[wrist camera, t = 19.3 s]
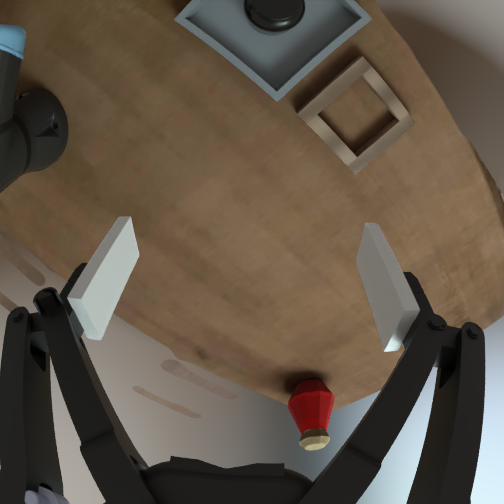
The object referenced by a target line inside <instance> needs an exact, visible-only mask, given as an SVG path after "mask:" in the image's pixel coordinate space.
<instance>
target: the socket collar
mask: <svg viewBox="0 0 504 504" xmlns="http://www.w3.org/2000/svg"><path fill="white" fill-rule="evenodd" d="M359 77H362V79H363V80H364V81H365V82H366V83H367V84H368V85H369V87H370V88H371V89H372V90H373V91H374V93H375V94H376V95H377V96H378V97H379V99H380V100H381V101H382V102H383V104H384V105H385V106H386V107H387V109H388V110H389V111H390V112H391V114H392V115H393V116H394V119H393V120H392V121H391V122H390V123H388V124H387V125H386V126H385V127H384V128H382V129H381V130H380V131H379V132H378V133H377V134H375V135H374V136H373V137H372V138H371V139H370V140H368V141H367V142H366V143H365V144H364V145H363V146H361V147H360V148H359V149H358V150H357V151H356V152H354V153H353V152H352V151H351V150H350V149H349V147H348V146H347V145H346V144H345V143H344V142H343V141H342V140H341V139H340V138H339V137H338V135H337V134H336V133H335V132H334V131H333V130H332V129H331V128H330V127H329V126H328V125H327V124H326V123H325V122H324V121H323V120H322V119H321V118H320V117H319V116H318V115H317V114H318V113H320V112H321V111H322V110H323V109H324V108H325V107H326V106H327V105H328V104H330V103H331V102H332V101H333V100H334V99H335V98H336V97H338V96H339V95H340V94H341V93H342V92H343V91H344V90H346V89H347V88H348V87H349V86H350V85H351V84H352V83H354V82H355V81H356V80H357V79H358V78H359ZM296 113H297V115H298V116H299V117H300V118H301V119H303V120H304V121H305V122H306V123H307V124H308V125H309V126H310V127H311V128H312V129H313V130H314V131H315V132H316V133H317V134H318V135H319V136H320V137H321V138H322V139H323V140H324V142H325V143H326V144H327V145H328V146H329V147H330V148H331V149H332V150H333V151H334V152H335V153H336V154H337V155H338V156H339V157H340V158H341V159H342V161H343V162H344V163H345V164H346V165H347V166H348V167H349V168H350V169H351V170H352V172H353V173H354V174H357V173H358V172H359V171H360V170H361V169H362V168H364V167H365V166H366V165H367V164H368V163H370V162H371V161H372V160H373V159H374V158H375V157H377V156H378V155H379V154H380V153H381V152H383V151H384V150H385V149H386V148H387V147H388V146H390V145H391V144H392V143H393V142H394V141H396V140H397V139H398V138H399V137H400V136H401V135H403V134H404V133H405V132H406V131H407V130H408V129H410V128H411V127H412V126H413V125H414V124H416V123H415V121H414V120H413V118H412V117H411V116H410V114H409V113H408V111H407V110H406V109H405V107H404V106H403V105H402V103H401V102H400V101H399V99H398V98H397V97H396V95H395V94H394V93H393V92H392V90H391V89H390V88H389V87H388V85H387V84H386V83H385V82H384V80H383V79H382V78H381V77H380V76H379V74H378V73H377V72H376V71H375V70H374V68H373V67H372V66H371V65H370V64H369V63H368V62H367V60H366V59H365V58H364V57H363V56H358V57H357V58H356V59H354V60H353V61H352V62H351V63H350V64H348V65H347V66H346V67H345V68H344V69H343V70H341V71H340V72H339V73H338V74H337V75H336V76H335V77H333V78H332V79H331V80H330V81H329V82H328V83H327V84H325V85H324V86H323V87H322V88H321V89H320V90H319V91H318V92H317V93H315V94H314V95H313V96H312V97H311V98H310V99H309V100H308V101H307V102H305V103H304V104H303V105H302V106H301V107H300V108H299V109H298V110H297V111H296Z"/></svg>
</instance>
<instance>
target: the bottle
mask: <svg viewBox="0 0 504 504" xmlns="http://www.w3.org/2000/svg"><path fill="white" fill-rule="evenodd" d="M333 403H334V396H333V394H332V393H331V391H330V390H329V389H328V388H327V386H326V385H325V384H324V383H323V381H322V380H319V379H315V378H314V379H306V380H303V381H301V382H300V383H299V384H298V385H296V388H295V390H294V392H293V394H292V396H291V398H290V400H289V402H288V409H289V410H290V413H291V415H292V417H293V419H294V421H295V422H296V424H297V426H298V428H299V430H300V432H301V434H302V436H301V439H300V442H299V445H301V446H302V447H303V448H305V449H306V450H318V449H321V448H323V447H325V445H326V444H327V443H328V442H329V440H330V437H329V435H328V433H327V432H326V430H327V426H328V422H329V419H330V415H331V411H332V407H333Z"/></svg>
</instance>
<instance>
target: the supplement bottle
mask: <svg viewBox="0 0 504 504" xmlns="http://www.w3.org/2000/svg"><path fill="white" fill-rule="evenodd" d="M243 7H244V12H245V16H246V19H247V21H248V23H249V25H250V26H251V27H252V28H253V29H254V30H255V31H257V32H259V33H261V34H264V35H269V36H275V35H281V34H283V33H286V32H287V31H289V30H290V29H292V28H293V27H295V26H296V25H297V24H298V23H299V22H300V21H301V20H302V18H303V16H304V13H305V1H304V0H244V4H243Z"/></svg>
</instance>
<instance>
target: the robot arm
mask: <svg viewBox="0 0 504 504" xmlns="http://www.w3.org/2000/svg"><path fill="white" fill-rule="evenodd" d="M25 41H26V31H25V30H24V28H23V27H21V26H17V25H5V24H0V193H1V192H2V191H3V190H4V189H5V188H7V187H8V186H9V185H10V184H11V183H13V182H14V181H15V180H16V179H17V178H19V177H20V176H21V175H23V174H26V173H29V172H33V171H40V170H43V169H45V168H47V167H49V166H50V165H51V164H53V163H54V162H55V161H57V160H58V159H59V157H60V156H61V155H62V153H63V151H64V149H65V146H66V143H67V138H68V123H67V118H66V114H65V111H64V109H63V107H62V105H61V104H60V102H59V101H58V99H57V98H56V97H55V96H54V95H52V94H51V93H49V92H48V91H45V90H42V89H33V90H29V91H26V92H24V93H21V94H20V95H18V96H16V90H17V83H18V77H19V71H20V66H21V61H22V60H23V58H24V56H23V51H24V46H25ZM138 257H139V251H138V247H137V243H136V238H135V234H134V230H133V225H132V220H131V217H118V219H117V220H116V222H115V223H114V225H113V226H112V227H111V229H110V230H109V232H108V233H107V235H106V236H105V238H104V239H103V241H102V242H101V244H100V245H99V247H98V248H97V250H96V251H95V253H94V254H93V256H92V257H91V259H90V261H89V262H88V263H82V264H81V265H80V266H78V267H77V268H76V269H75V271H74V272H73V274H72V275H71V277H70V278H69V280H68V283H66V285H65V287H64V288H63V290H62V292H61V293H60V295H59V294H58V292H57V290H56V289H54V288H52V287H48V288H45V289H42V290H41V291H39V292H38V293H37V294H36V295H35V297H34V299H33V303H34V305H35V307H36V309H37V311H38V312H37V313H31V314H30V313H29V312H28V310H27V309H26V308H25V307H17V308H15V309H14V310H12V311H11V312H10V314H9V315H8V318H7V323H6V329H5V335H4V343H3V351H2V359H1V369H0V465H1V469H0V504H70V503H69V502H68V501H67V499H66V498H65V497H64V495H63V482H62V476H61V470H60V465H59V459H58V453H57V446H56V439H55V431H54V422H53V412H52V399H51V381H50V357H51V360H52V364H53V366H54V370H55V373H56V376H57V380H58V383H59V386H60V389H61V392H62V395H63V398H64V400H65V403H66V405H67V409H68V411H69V414H70V416H71V419H72V421H73V424H74V426H75V429H76V431H77V434H78V436H79V438H80V441H81V446H80V451H81V453H82V456H83V458H84V460H85V462H86V464H87V466H88V468H89V470H90V472H91V474H92V476H93V478H94V480H95V482H96V484H97V486H98V488H99V490H100V492H101V493H102V495H103V497H104V499H105V500H106V502H105V503H103V504H356V503H357V501H358V499H359V498H360V497H361V496H362V495H363V493H364V492H365V490H366V489H367V488H368V486H369V485H370V483H371V482H372V481H373V479H374V478H375V476H376V475H377V473H378V471H379V470H380V468H381V463H382V460H383V459H384V457H385V456H386V454H387V452H388V451H389V449H390V448H391V446H392V444H393V443H394V441H395V439H396V438H397V436H398V434H399V432H400V431H401V429H402V427H403V426H404V424H405V422H406V420H407V418H408V416H409V415H410V413H411V411H412V409H413V407H414V405H415V403H416V401H417V399H418V397H419V395H420V393H421V391H422V389H423V387H424V385H425V383H426V381H427V378H428V376H429V374H430V372H431V370H432V367H438V370H437V377H436V384H435V390H434V397H433V402H432V408H431V414H430V418H429V423H428V428H427V432H426V437H425V441H424V445H423V449H422V453H421V457H420V461H419V464H418V467H417V471H416V474H415V478H414V481H413V484H412V487H411V490H410V493H409V497H408V500H407V504H471V500H470V496H471V492H472V488H473V483H474V478H475V473H476V467H477V462H478V456H479V449H480V442H481V433H482V424H483V413H484V397H485V338H484V332H483V331H482V329H481V328H480V327H479V326H478V325H477V324H475V323H473V322H466V323H465V324H464V325H463V326H462V327H461V329H460V328H456V327H451V326H448V325H447V323H446V321H445V320H444V319H443V318H442V317H441V316H439V315H437V314H434V312H433V310H432V308H431V306H430V303H429V301H428V299H427V297H426V295H425V294H424V291H423V289H422V288H421V285H420V283H419V281H418V279H417V278H416V277H415V276H414V275H413V274H412V273H411V272H402V270H401V268H400V265H399V263H398V261H397V259H396V257H395V255H394V253H393V252H392V250H391V248H390V246H389V244H388V242H387V240H386V238H385V236H384V234H383V232H382V230H381V229H380V227H379V225H378V223H365V225H364V230H363V234H362V238H361V242H360V246H359V250H358V254H357V258H356V264H357V267H358V270H359V273H360V276H361V279H362V282H363V285H364V288H365V291H366V294H367V297H368V300H369V303H370V306H371V310H372V313H373V316H374V319H375V323H376V326H377V329H378V333H379V336H380V340H381V343H382V347H383V350H384V352H386V351H398V350H399V348H400V347H401V345H402V343H403V344H404V348H405V351H404V352H403V354H402V356H401V357H400V359H399V361H398V362H397V365H396V366H395V368H394V370H393V372H392V373H391V375H390V377H389V378H388V380H387V382H386V383H385V385H384V386H383V388H382V390H381V391H380V393H379V394H378V396H377V398H376V399H375V401H374V402H373V404H372V405H371V407H370V408H369V410H368V411H367V413H366V414H365V416H364V417H363V419H362V420H361V421H360V423H359V424H358V426H357V427H356V428H355V430H354V432H353V433H352V434H351V436H350V437H349V438H348V439H347V441H346V442H345V443H344V445H343V446H342V447H341V449H340V450H339V451H338V453H337V454H336V455H335V457H334V458H333V459H332V460H331V461H330V463H329V464H328V465H327V466H326V467H325V469H324V470H323V471H322V472H321V473H320V474H319V476H318V477H317V478H316V479H315V480H314V481H313V482H312V481H311V480H309V479H308V478H307V477H305V476H304V475H302V474H300V473H297V472H295V471H292V470H289V469H285V468H284V463H282V464H263V463H256V464H251V465H246V466H240V467H234V468H222V467H218V466H216V465H212V464H209V463H207V462H204V461H201V460H198V459H189V458H181V457H174V456H171V459H170V461H167V462H162V463H159V464H156V465H153V466H151V467H148V465H147V464H146V462H145V461H144V460H143V458H142V457H141V456H140V454H139V453H138V452H137V450H136V448H135V447H134V445H133V443H132V441H131V440H130V438H129V436H128V434H127V433H126V431H125V430H124V427H123V425H122V424H121V422H120V420H119V418H118V416H117V414H116V412H115V410H114V408H113V406H112V405H111V403H110V400H109V398H108V396H107V394H106V393H105V390H104V388H103V386H102V384H101V382H100V379H99V377H98V375H97V373H96V371H95V368H94V366H93V364H92V361H91V359H90V357H89V354H88V352H87V349H86V347H85V344H84V342H83V340H82V338H81V336H82V334H83V331H84V332H85V334H86V336H87V338H88V339H95V340H102V337H103V335H104V332H105V330H106V328H107V325H108V323H109V321H110V318H111V316H112V314H113V311H114V309H115V307H116V305H117V302H118V300H119V298H120V296H121V293H122V291H123V289H124V287H125V285H126V283H127V280H128V278H129V276H130V274H131V272H132V270H133V268H134V266H135V264H136V262H137V259H138Z"/></svg>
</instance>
